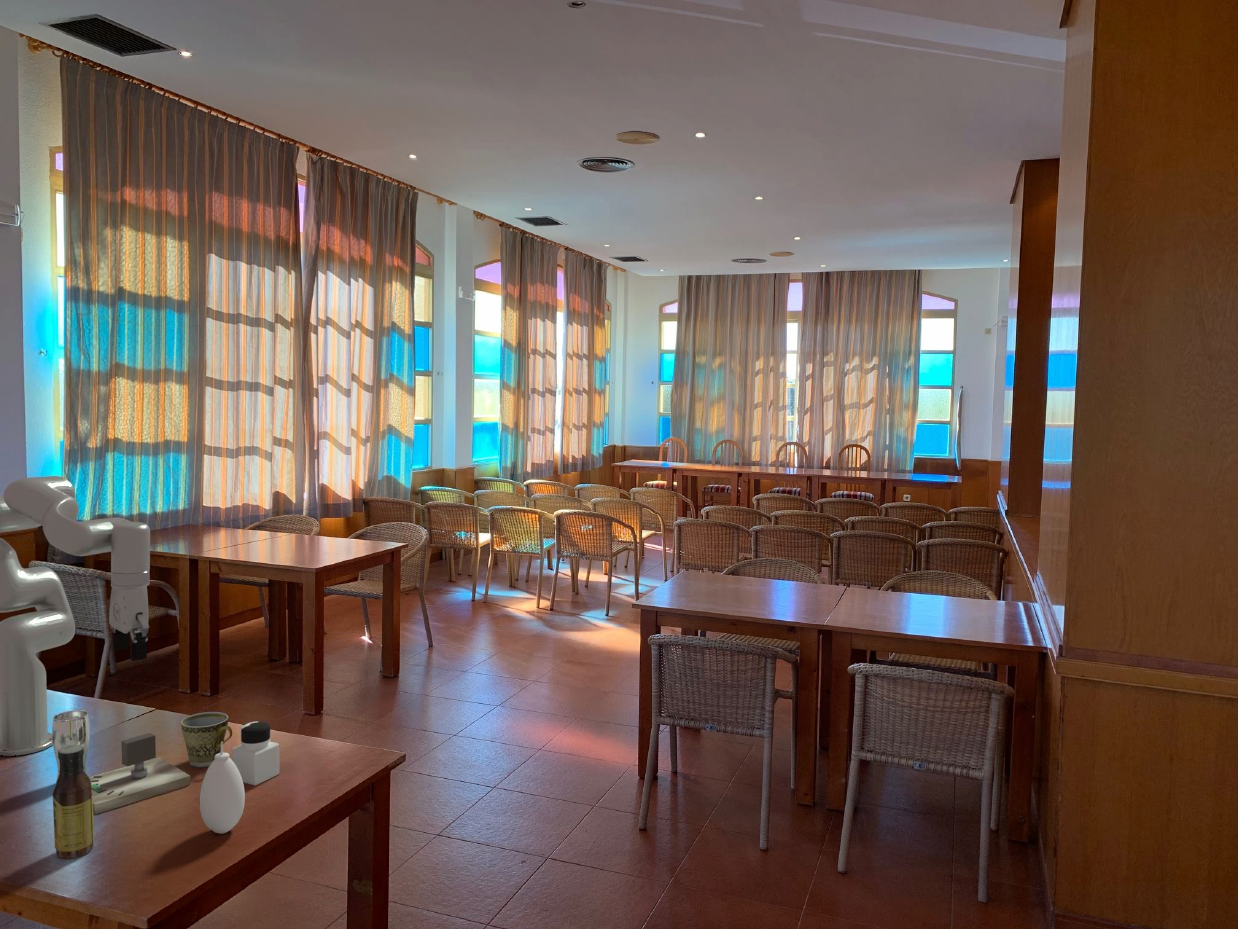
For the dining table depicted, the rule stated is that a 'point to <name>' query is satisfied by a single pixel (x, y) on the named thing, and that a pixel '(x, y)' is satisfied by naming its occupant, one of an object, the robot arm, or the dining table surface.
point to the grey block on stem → (136, 756)
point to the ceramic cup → (204, 736)
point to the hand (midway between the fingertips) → (129, 654)
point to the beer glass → (71, 732)
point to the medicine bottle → (256, 754)
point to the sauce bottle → (73, 805)
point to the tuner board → (136, 784)
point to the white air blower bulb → (222, 794)
